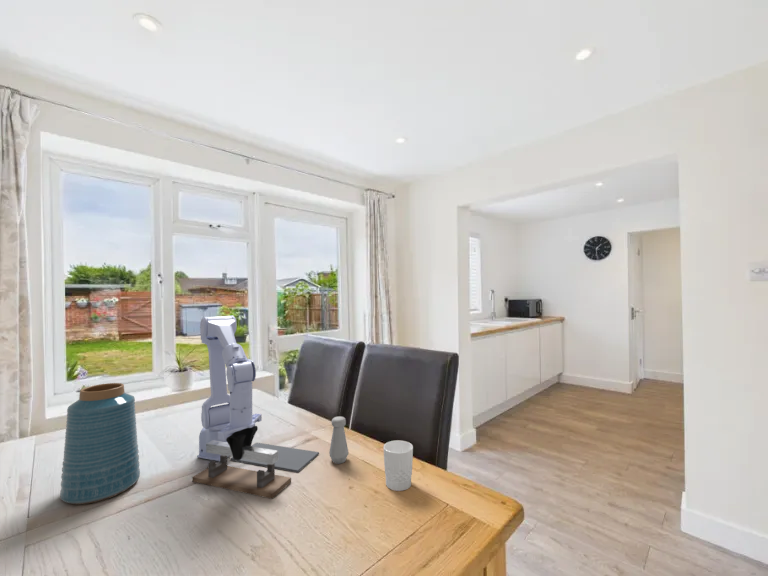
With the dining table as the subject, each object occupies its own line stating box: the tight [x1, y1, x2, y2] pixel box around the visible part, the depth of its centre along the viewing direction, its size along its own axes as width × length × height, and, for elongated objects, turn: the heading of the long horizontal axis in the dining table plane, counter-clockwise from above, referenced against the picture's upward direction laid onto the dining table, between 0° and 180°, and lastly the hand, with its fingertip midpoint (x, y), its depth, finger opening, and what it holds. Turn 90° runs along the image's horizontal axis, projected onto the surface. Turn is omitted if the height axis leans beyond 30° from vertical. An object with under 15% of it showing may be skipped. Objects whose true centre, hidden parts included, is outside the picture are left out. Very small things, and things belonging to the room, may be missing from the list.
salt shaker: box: [328, 415, 349, 465], centre depth 106 cm, size 6×6×13 cm
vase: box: [59, 382, 141, 505], centre depth 92 cm, size 16×16×27 cm
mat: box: [230, 442, 320, 473], centre depth 109 cm, size 24×12×1 cm, turn 71°
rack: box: [191, 455, 292, 499], centre depth 95 cm, size 26×8×5 cm, turn 71°
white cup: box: [383, 439, 414, 492], centre depth 93 cm, size 8×8×10 cm
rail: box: [206, 440, 278, 464], centre depth 95 cm, size 22×2×2 cm, turn 71°
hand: (241, 456), depth 95 cm, fingers closed on rail, 2 cm apart
